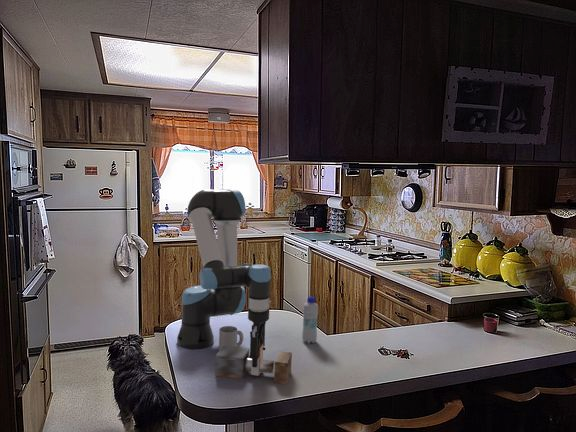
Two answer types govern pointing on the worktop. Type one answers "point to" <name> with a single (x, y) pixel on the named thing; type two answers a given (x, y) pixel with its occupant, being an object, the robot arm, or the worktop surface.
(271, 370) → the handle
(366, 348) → the worktop surface
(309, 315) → the bottle
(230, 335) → the cup
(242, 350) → the sleeve and socket
